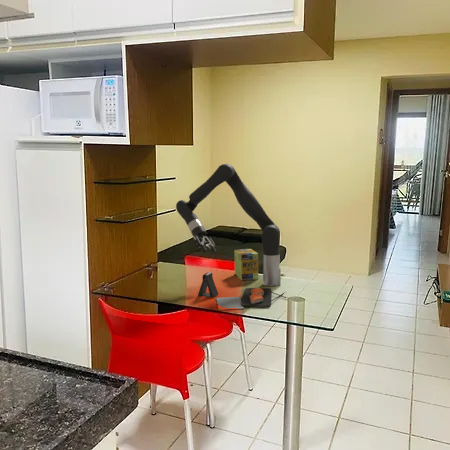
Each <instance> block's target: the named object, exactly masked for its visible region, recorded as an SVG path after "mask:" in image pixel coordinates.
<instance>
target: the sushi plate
mask: <svg viewBox="0 0 450 450" xmlns="http://www.w3.org/2000/svg"><path fill="white" fill-rule="evenodd" d="M284 293H285V292H282V293H281V294H278V293H275V292H273V291H272V289H271V288H268V287H247V288H244V290H243V294H242V297H241V305H243V307H269V306H271V305H272V302H273V301H274V300H276V299H278V298H280V297H282V298H284V299H286V298H288V297H287V296H284V295H285V294H284ZM273 294H274V295H275V296H277V297H275V298H273V299H272V296H273ZM283 294H284V295H283Z"/></svg>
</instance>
